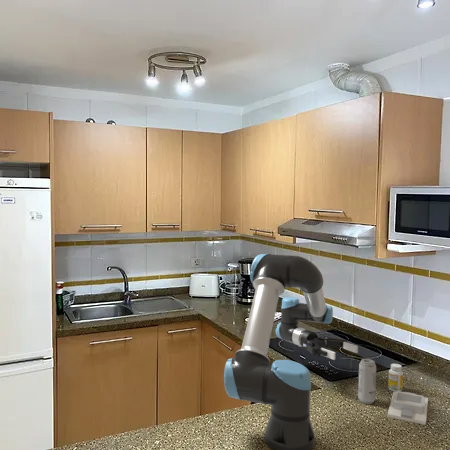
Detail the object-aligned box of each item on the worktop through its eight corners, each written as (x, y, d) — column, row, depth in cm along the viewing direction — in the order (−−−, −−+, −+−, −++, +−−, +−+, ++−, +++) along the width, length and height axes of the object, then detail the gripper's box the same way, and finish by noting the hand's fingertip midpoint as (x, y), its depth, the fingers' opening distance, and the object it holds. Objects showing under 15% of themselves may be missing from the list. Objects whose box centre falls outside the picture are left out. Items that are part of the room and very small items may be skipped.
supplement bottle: (391, 392, 172) (392, 367, 171) (385, 386, 177) (386, 363, 177) (405, 391, 172) (406, 367, 172) (398, 386, 178) (399, 362, 177)
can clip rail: (425, 425, 146) (426, 414, 146) (387, 416, 151) (387, 406, 151) (427, 400, 165) (428, 391, 165) (393, 394, 170) (394, 385, 170)
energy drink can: (373, 406, 159) (374, 365, 159) (356, 402, 162) (357, 361, 162) (376, 399, 165) (377, 360, 164) (359, 396, 168) (361, 357, 167)
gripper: (324, 342, 196) (365, 356, 179) (284, 352, 181) (324, 369, 164) (325, 325, 195) (366, 337, 178) (284, 334, 180) (325, 349, 163)
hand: (346, 352), depth 171 cm, fingers open, 13 cm apart
